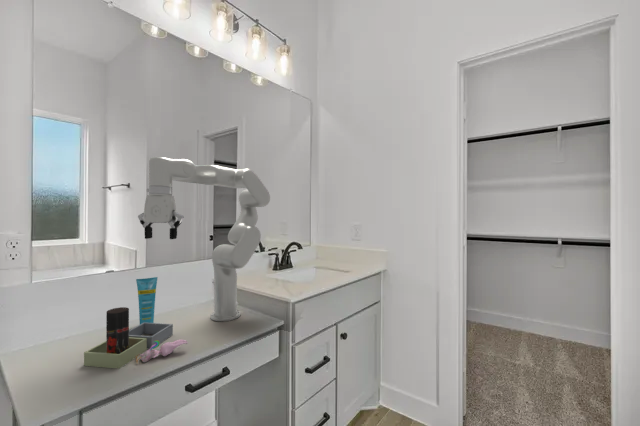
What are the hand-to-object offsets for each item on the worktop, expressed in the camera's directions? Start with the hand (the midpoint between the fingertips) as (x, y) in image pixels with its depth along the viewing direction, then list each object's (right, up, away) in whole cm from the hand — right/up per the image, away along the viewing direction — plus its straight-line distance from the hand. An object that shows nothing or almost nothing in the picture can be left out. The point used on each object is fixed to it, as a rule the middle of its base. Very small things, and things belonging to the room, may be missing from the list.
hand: (160, 238), depth 111 cm
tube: (-12, -36, +12) cm, 40 cm away
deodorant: (-6, -37, -14) cm, 40 cm away
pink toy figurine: (+8, -37, -13) cm, 40 cm away
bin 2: (-4, -36, -2) cm, 37 cm away
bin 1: (-6, -37, -15) cm, 40 cm away
